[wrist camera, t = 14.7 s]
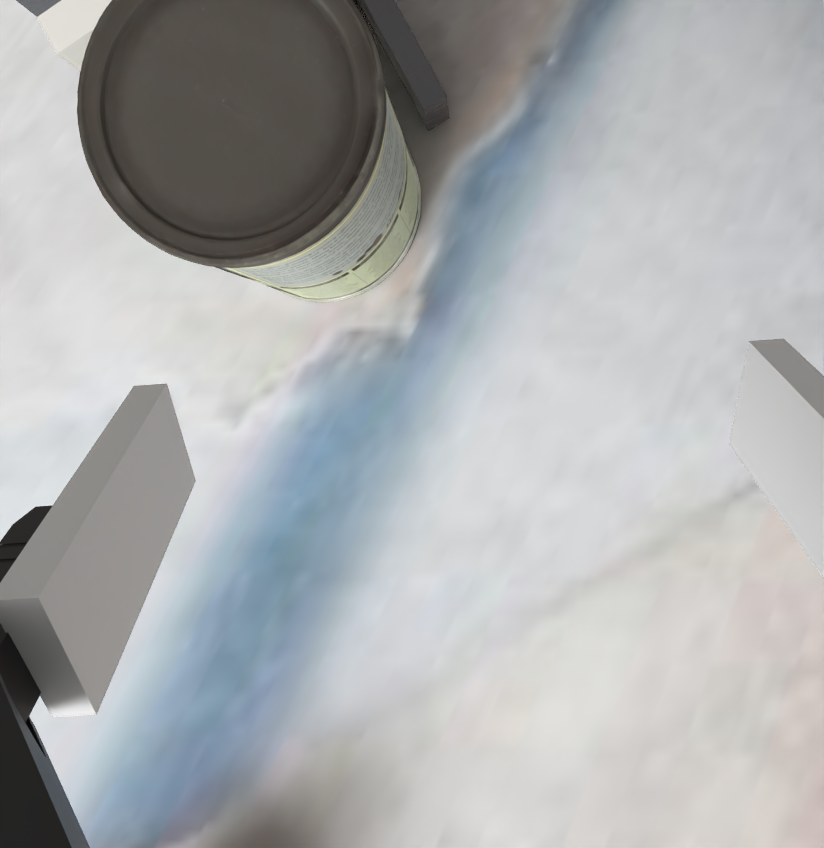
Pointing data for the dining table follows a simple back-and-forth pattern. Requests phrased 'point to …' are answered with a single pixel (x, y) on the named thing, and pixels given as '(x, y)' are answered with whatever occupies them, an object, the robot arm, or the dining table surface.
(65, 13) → the pressure pad
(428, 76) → the frame
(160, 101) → the coffee can
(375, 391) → the dining table surface
